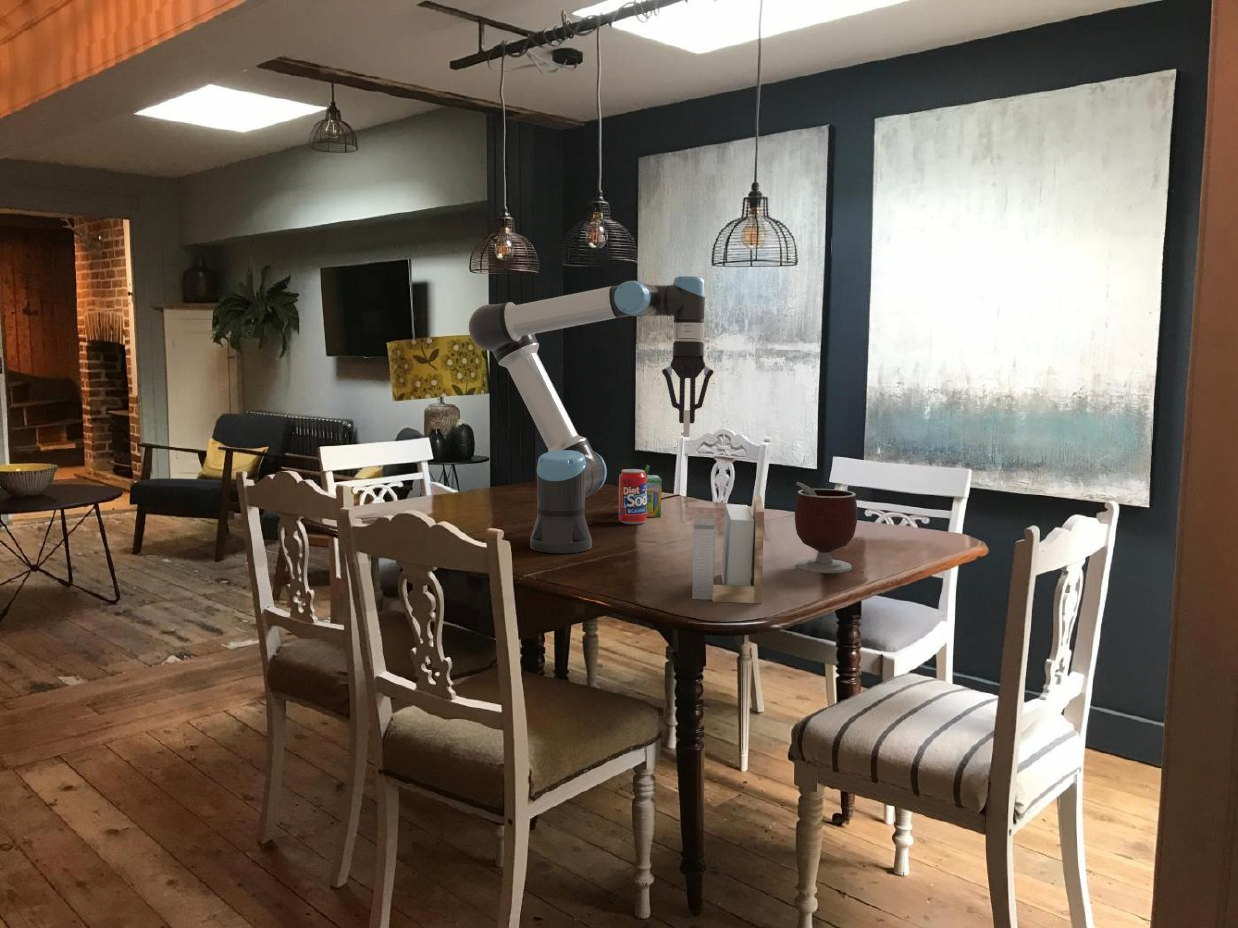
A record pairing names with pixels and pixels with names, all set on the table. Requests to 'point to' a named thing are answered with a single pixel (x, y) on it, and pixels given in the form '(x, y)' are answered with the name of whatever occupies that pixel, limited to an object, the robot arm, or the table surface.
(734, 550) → the skincare box
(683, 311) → the robot arm
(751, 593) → the oak shelf corner
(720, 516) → the table surface
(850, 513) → the mate gourd
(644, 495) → the soda can
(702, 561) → the grey carton
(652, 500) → the juice box
